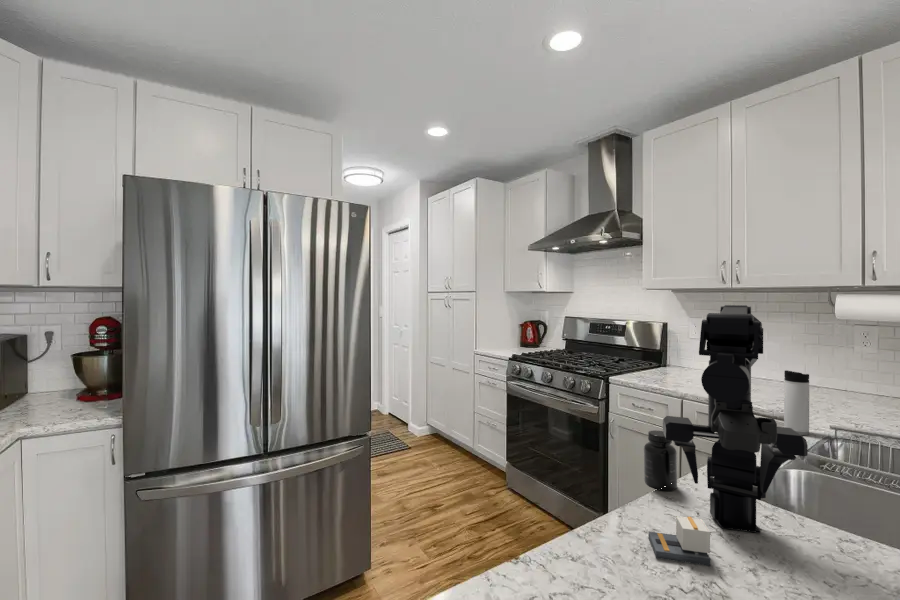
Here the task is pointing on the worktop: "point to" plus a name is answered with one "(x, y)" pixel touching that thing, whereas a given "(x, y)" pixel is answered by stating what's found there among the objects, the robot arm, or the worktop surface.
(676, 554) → the panel
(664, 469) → the supplement bottle
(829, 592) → the worktop surface
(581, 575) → the worktop surface
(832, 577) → the worktop surface
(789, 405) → the travel mug
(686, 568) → the worktop surface
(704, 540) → the block
